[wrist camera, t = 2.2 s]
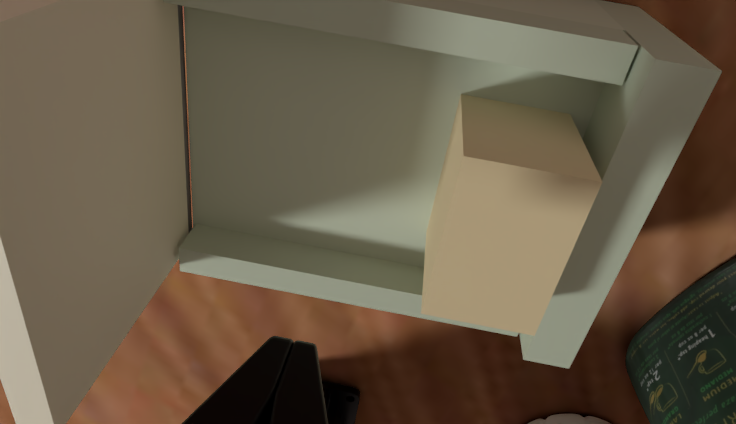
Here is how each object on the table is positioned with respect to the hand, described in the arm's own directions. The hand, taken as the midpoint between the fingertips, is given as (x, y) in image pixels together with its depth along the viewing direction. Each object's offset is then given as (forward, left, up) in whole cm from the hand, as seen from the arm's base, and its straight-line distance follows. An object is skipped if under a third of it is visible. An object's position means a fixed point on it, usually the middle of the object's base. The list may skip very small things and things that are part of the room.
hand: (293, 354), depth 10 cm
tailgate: (0, +7, -5) cm, 8 cm away
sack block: (0, -4, -8) cm, 10 cm away
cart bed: (0, 0, -12) cm, 13 cm away
